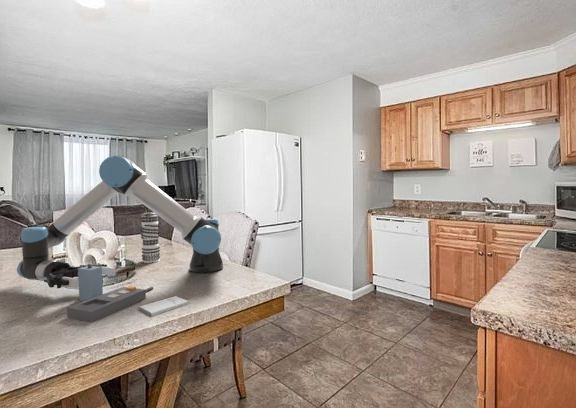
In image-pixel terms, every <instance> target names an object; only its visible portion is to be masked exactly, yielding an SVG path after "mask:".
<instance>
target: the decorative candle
mask: <svg viewBox="0 0 576 408" xmlns="http://www.w3.org/2000/svg"><path fill="white" fill-rule="evenodd" d="M139 228H140V239H141V240H142V244H141V246H142V248H141V253H142V254H141V259H142V260H141V261H142V263H143V262H144V264H152V262H153V263H157V261H158V262H160V261H161V259H160V258H161V256H160V255H161V253H160V251H161V250H160V248H161V247H160V244H159V243H160V241H159V239H160V236H159V235H160V234H161V232H160V229H159V228H161V225H160V222H159V216H158V215H157V214H156V213H154V212H153V211H152V212H151V211H150V212H144V213H142V214H141V226H140V227H139Z"/></svg>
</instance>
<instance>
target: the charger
mask: <svg viewBox="0 0 576 408" xmlns="http://www.w3.org/2000/svg"><path fill="white" fill-rule="evenodd" d="M87 265H88V266H86V267H82V268H78V277H77V279H78V281H79V287H78V295H79V296H78V299H79V302H83V301H86V300H88V299H91V298H94V297H97V296H99V295H102V294H104V293H103V292H104V291H103V290H104V289H103V275H102V267H96V266H92V265H93V264H92V263H87Z"/></svg>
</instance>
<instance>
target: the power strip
mask: <svg viewBox="0 0 576 408" xmlns="http://www.w3.org/2000/svg"><path fill="white" fill-rule="evenodd" d="M153 289H154V286H150V287H147V288H145V289H143V288H137V287H136V286H131V285H129V286H121V287H119V288H116V289H114V290H110V291H108V292H105V293H103V294H102V295H99V296H97V297H94V298H91V299H88V300H86V301H79V302H77V303H75V304H72V305H70V306H67V307H66V316H67V318H68V319H73V320H79V321H84V322H89V323H93V322H96V321H98V320H100V319H102V318H105V317H107V316H109V315H111V314H113V313H115V312H118V311H120V310H123V309H126V308H128V307H129V306H132V305H134V304H136V303H138V302H141V301H143V300H144V299H146V298H147V294H146V293H147V292H149V291H151V290H153Z"/></svg>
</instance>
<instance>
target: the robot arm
mask: <svg viewBox="0 0 576 408" xmlns="http://www.w3.org/2000/svg"><path fill="white" fill-rule="evenodd" d="M98 174H99V176H100V179H101V182H100V183H98V184H97V185H96V186H94V187H93V188H92V189H91V190H90V191H89V192H88V193H87V194H85V195H84V196H83V197H81V198H80V199H79V200H78V201H77V202H76V203H75V204H73V205H72V206H71V207H70V208H68V209H67V210H66V211H65V212H64V213H63V214H62V215H60V216H59V217H57V218H56V219H55V220H54V221H53V222H52V223H51V224H50V225H48V226H47V227H46V226H29V227H24V228H23V229H22V230H21V236H20V237H21V238H20V240H21V250H22V260H21V261H19V263H18V265H17V267H16V272H17V274H18V276H19V277H21V278H24V279H27V280H29V281H30V280H32V281H40V282H41V281H42V282H43V283H47V285H48V287H49V288H51V289H52V288H54V287H55V286H56V289H61V288H62V286H63V287H69V288H74V289H75V288H77V289H78V288H79V281H78V268H82V267H86V266H88V264H80V265H79V266H74V265H73V266H71V265H70V264H69V263H68V262H66V261H59V260H51V259H49V258H50V257H49V256H50V253H49V252H50V251H49V249H51V248H52V247H56V246H58V245H61V244H62V243H63V242H64V241H65V240H66V239H67V237H68V236H69V235H70V234H71V233H72V232H74V231H75V230H76V229H77V228H78V227H80V226H81V225H82V224H83V223H85V222H86V221H87V220H88V219H89V218H90V217H91V216H93V215H94V214H95V213H96V212H97V211H98V210H100V209H101V208H103V206H105V204H107V203H108V202H109V201H111V199H113V198H114V197H115V196H116V195H117V194H118V195H119V194H120V195H124V196H126V197H127V196H128V197H129V196H132V197H133V198H135V199H136V200H137V201H138V202H140V203H141V204H142V205H144V206H145V207H146V208H148V209H149V210H150V211H152V212H154V213H156V214H157V215H158V217H160V218H161V219H162V220H163V221H165V222H166V223H168V224H169V225H170V226H172V227H173V228H174V229H176V231H178V232H180V233H181V237H182V240H184V241H185V242H187V243H188V244H189V245H190V246H191V247H192V255H191V259H190V261H189V265H188V266H189V271H190V272H192V273H197V272H198V273H203V274H205V272H207V273H214V272H217V270H218V271H221V270H223V269H224V262H223V259H222V256H221V254H220V248H219V247H220V245H221V241H222V236H221V233H220V231H219V226H220V224H219V220H218V219H215V218H211V219H208V218H207V219H206V218H203V216H201V215H200V216H195V215H194V214H193V213H191V212H190V211H189V210H187V209H186V208H185V207H184V206H183V205H181V204H180V203H179V202H177V201H176V200H174V199H173V197H171V196H169V195H168V194H167V193H166V192H164V190H162V189H161V188H159V187H158V186H156V185H155V184H154V183H153V182H151V181H150V180H149V179H148V177H147V176H148V175H147V173H146V172H145V171H144V170H143V169H141V168H140V167H139V165H138V164H137V163H136V162H135V161H133V160H132V159H130V158H127V157H125V156H122V155H112V156H108V157H107V158H105V159H103V161H102V162H101V163H100V165H99V169H98ZM92 266H96V267H102V276H103V275H104V276H112V277H115V276H116V267H110V266H108V264H104V263H102V264H92ZM220 269H221V270H220ZM213 271H214V272H213Z"/></svg>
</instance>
